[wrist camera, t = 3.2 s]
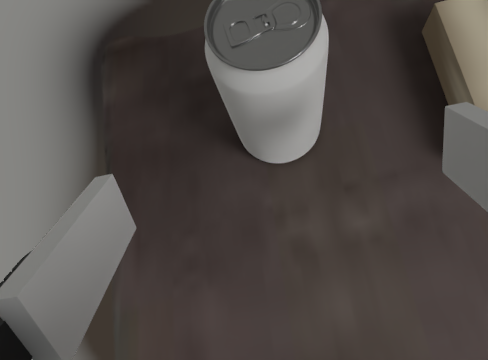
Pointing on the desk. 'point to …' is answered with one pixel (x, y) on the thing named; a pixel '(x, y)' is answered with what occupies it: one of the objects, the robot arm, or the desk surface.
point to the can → (270, 72)
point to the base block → (460, 49)
